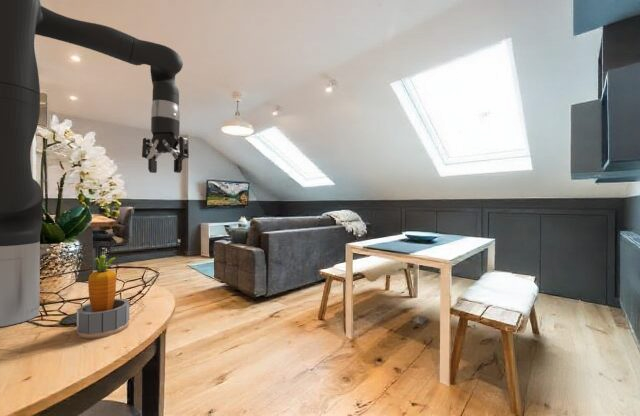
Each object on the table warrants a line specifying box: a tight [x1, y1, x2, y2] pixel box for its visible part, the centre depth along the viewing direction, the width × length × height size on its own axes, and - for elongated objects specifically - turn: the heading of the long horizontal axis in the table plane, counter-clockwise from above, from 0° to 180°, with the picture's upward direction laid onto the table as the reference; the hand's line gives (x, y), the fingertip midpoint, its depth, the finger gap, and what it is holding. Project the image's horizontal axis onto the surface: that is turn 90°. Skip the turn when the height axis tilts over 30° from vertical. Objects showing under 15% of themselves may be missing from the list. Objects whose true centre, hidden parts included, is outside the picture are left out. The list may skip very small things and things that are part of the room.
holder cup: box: [76, 298, 131, 340], centre depth 59 cm, size 9×9×5 cm
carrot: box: [87, 254, 117, 312], centre depth 59 cm, size 5×5×15 cm
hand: (165, 172), depth 85 cm, fingers open, 8 cm apart
